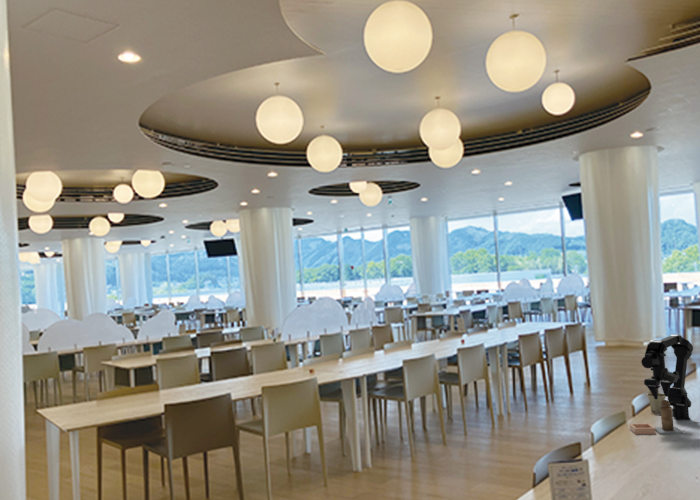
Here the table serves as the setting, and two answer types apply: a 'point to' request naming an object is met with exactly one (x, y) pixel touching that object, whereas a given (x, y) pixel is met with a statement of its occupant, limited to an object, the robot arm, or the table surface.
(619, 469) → the table surface
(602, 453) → the table surface
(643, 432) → the pink square tray
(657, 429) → the plate
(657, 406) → the flower pot
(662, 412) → the pepper mill
